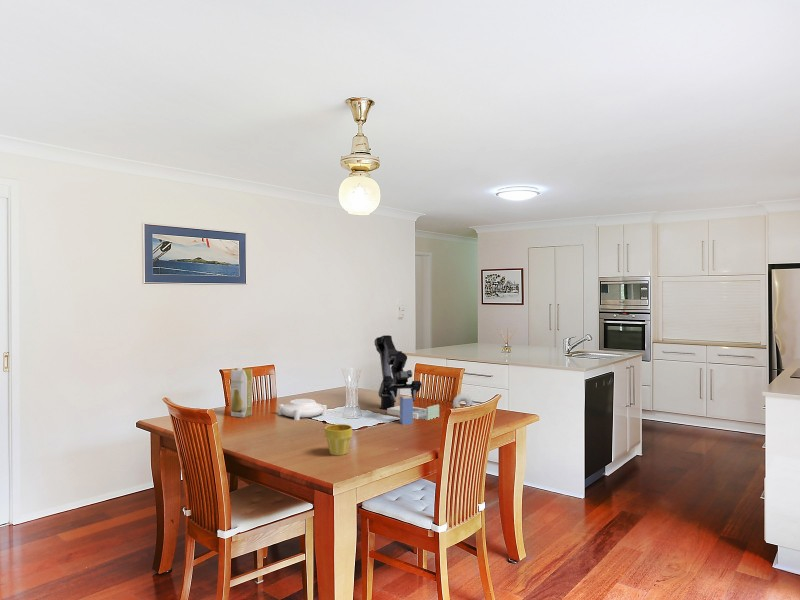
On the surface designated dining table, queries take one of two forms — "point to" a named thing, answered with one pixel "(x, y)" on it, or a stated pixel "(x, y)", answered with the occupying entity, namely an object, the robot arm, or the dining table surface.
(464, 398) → the donut
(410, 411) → the blue beige tall block
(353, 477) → the dining table surface
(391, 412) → the beige low rectangular frame
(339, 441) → the plant pot
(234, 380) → the juice carton
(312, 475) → the dining table surface
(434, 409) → the tray
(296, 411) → the round stand with pegs
